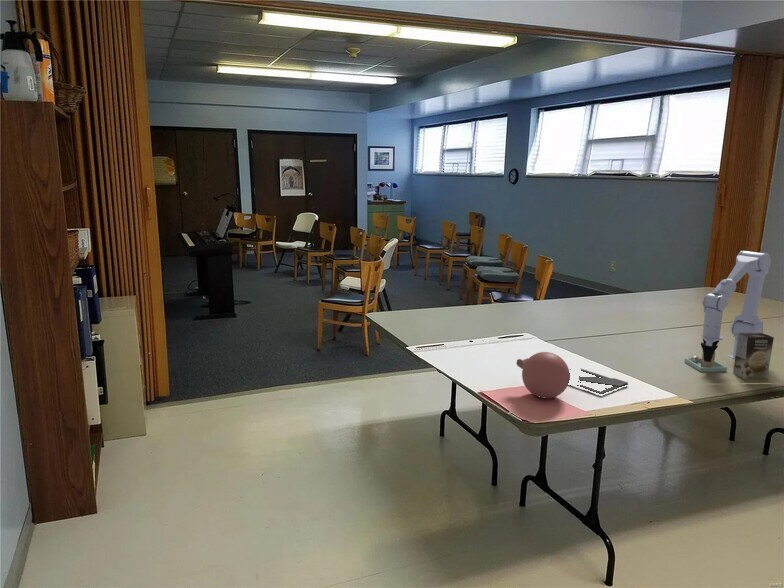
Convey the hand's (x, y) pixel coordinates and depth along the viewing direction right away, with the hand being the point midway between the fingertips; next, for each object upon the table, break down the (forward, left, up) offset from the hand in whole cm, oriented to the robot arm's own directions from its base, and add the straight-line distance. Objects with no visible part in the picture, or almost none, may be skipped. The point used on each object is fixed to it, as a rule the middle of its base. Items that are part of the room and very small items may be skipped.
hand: (708, 359), depth 211 cm
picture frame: (+52, +13, -4) cm, 53 cm away
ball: (+3, -4, -3) cm, 6 cm away
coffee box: (-10, +10, -4) cm, 15 cm away
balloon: (+72, +24, -4) cm, 76 cm away
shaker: (0, 0, -3) cm, 3 cm away
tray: (0, 0, -4) cm, 4 cm away
